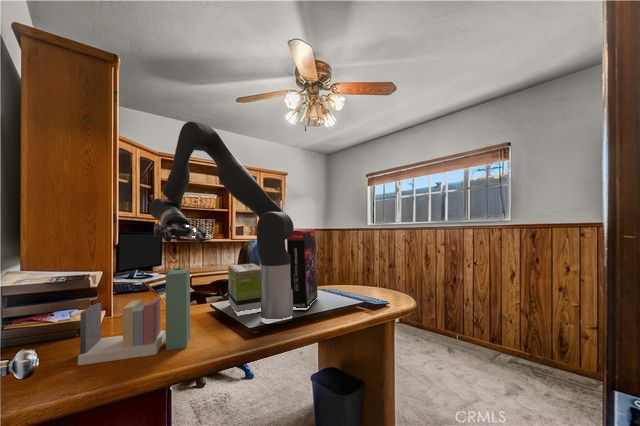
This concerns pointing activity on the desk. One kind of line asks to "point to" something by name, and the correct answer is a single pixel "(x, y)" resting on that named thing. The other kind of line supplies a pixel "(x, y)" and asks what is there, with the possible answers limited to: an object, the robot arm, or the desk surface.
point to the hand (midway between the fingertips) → (185, 240)
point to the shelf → (117, 351)
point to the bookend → (90, 327)
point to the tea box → (244, 287)
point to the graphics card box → (303, 267)
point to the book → (177, 309)
